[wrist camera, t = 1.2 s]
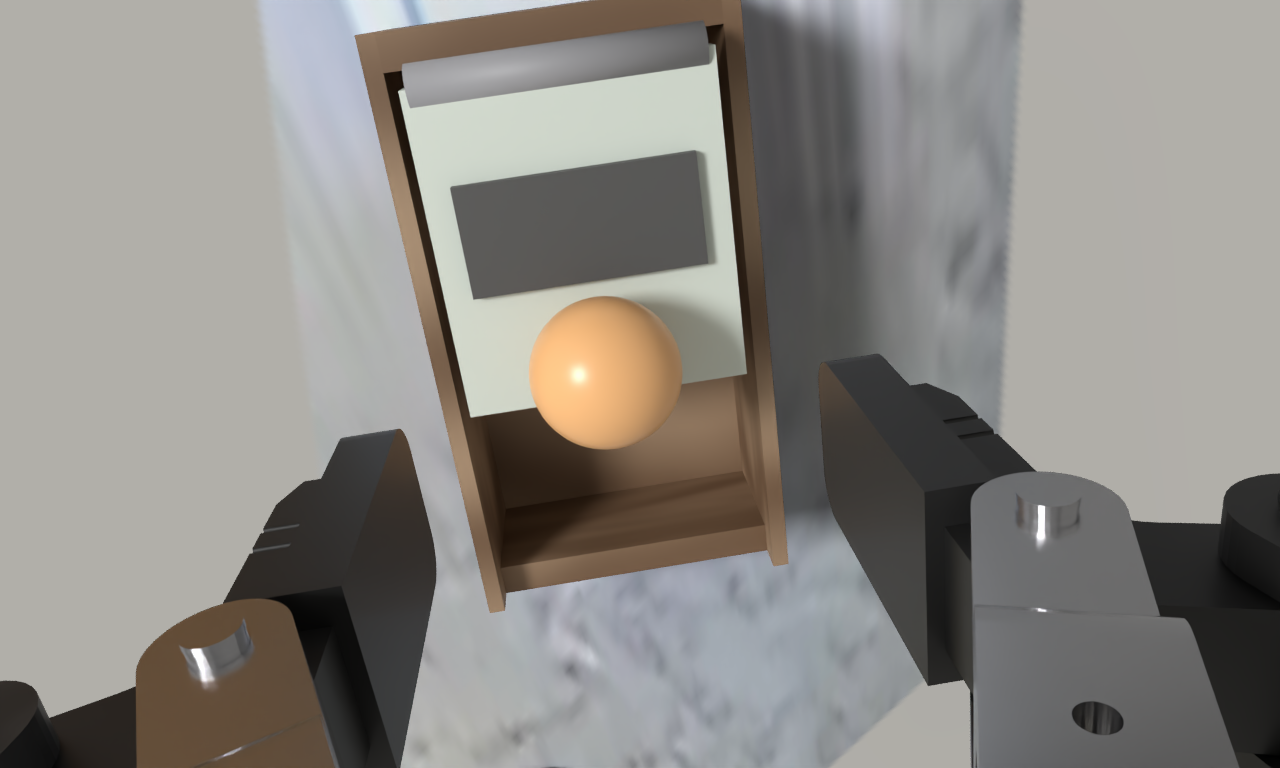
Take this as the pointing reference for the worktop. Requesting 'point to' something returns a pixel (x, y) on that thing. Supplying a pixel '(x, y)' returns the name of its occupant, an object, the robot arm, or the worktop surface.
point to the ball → (605, 372)
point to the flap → (576, 196)
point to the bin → (522, 440)
